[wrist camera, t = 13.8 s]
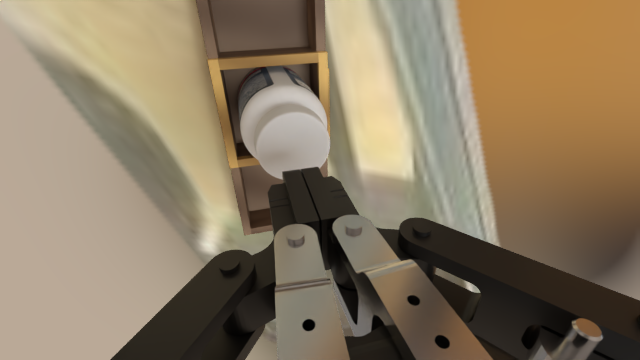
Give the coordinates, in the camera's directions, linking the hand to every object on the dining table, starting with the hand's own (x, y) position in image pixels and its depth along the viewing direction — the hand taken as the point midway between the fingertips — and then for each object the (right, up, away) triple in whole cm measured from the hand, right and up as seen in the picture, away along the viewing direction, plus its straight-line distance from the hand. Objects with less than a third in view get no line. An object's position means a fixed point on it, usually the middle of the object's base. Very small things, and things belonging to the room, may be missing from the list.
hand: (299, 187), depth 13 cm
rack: (-3, +7, +11) cm, 14 cm away
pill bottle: (-3, +7, +10) cm, 13 cm away
